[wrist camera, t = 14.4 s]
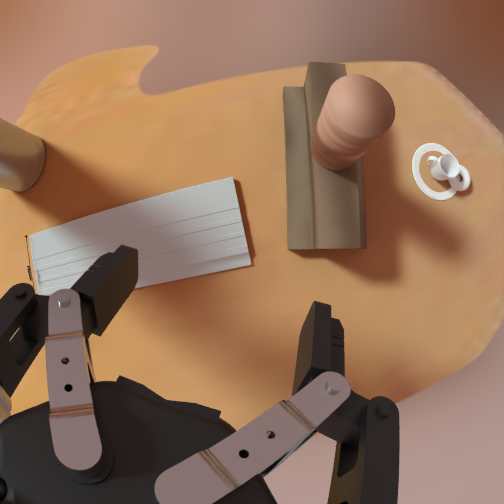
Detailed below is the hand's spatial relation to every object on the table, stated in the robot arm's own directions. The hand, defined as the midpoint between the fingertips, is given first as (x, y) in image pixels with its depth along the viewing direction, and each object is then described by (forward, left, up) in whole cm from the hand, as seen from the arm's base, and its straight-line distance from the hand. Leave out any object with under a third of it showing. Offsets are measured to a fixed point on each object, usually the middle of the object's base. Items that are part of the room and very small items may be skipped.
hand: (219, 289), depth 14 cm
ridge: (+9, +12, -24) cm, 29 cm away
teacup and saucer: (+26, +9, -25) cm, 37 cm away
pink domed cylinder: (+9, +12, -16) cm, 22 cm away
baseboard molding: (-16, +2, -25) cm, 30 cm away
